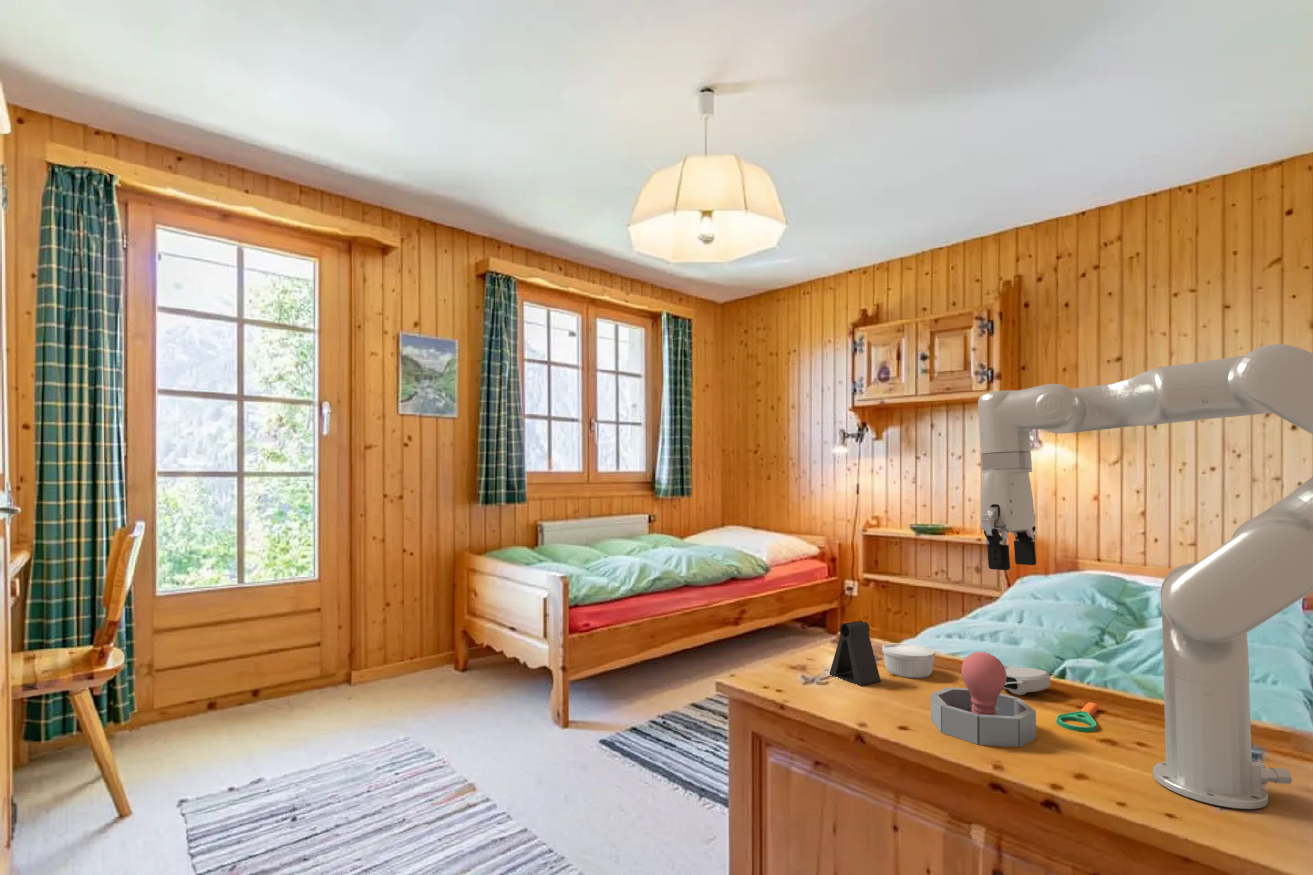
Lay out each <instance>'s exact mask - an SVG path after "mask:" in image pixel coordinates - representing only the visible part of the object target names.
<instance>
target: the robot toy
mask: <svg viewBox="0 0 1313 875" xmlns="http://www.w3.org/2000/svg"><path fill="white" fill-rule="evenodd" d="M1003 666H1004V668H1005V671H1006V683H1005V685H1004V687H1003V689H1005V690H1008V691H1009V692H1010V693H1011V694H1013V695H1015V696H1024V695H1026V694H1027V693H1037V692H1039V691H1045V690H1047V689H1048V688H1049V687H1050V686H1051V677H1050V676H1058V675H1059V673H1056V672H1054V673H1048V672H1047V671H1046V670H1042V669H1037V668H1031V667H1009V668H1008V666H1006V665H1005V664H1003Z"/></svg>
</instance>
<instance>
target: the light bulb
mask: <svg viewBox="0 0 1313 875" xmlns="http://www.w3.org/2000/svg"><path fill="white" fill-rule="evenodd" d="M1003 665H1004V664H1003V662H1001V660H1000V659H999V658H998V657H996V656H995V655H994V654H991V653H989V652H988V653H987V652H983V651H977V652H976V651H975V652H973V653H971V654H968V656H966V658H964V660H963V662H962V664H961V666H960V667H961V669H960V670H961V671H960V673H961V677H962V680H963V683H964V685H965V688H967V689H968V690H969V692H970V694H971V701H972V703H973V704H972V713H976V714H982V715H995V714H996V712H995V711H996V710H995V708H994V707H995V706H996V705H997V698H998V696H999V694H1000V693H1001V694H1002V691H1003V689H1004V688H1003V687H1004V685H1005V683H1006V671H1005V668H1004V666H1003Z"/></svg>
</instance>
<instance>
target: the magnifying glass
mask: <svg viewBox="0 0 1313 875" xmlns="http://www.w3.org/2000/svg"><path fill="white" fill-rule="evenodd" d="M1098 710H1099V705H1098V704H1097V703H1095V702H1092V701H1091V702H1090V701H1089V702H1087V703H1086V704H1085V705H1084V706H1083V707H1082V708H1081V709H1080V710H1077V711H1073V712H1066V713H1060V714H1058V715H1057V717H1056V721H1055V722H1056V724H1057V725H1058V726H1059V727H1061V728H1064V729H1065V730H1070V731H1075V732H1079V733H1080V732H1082V733H1091V732H1095V731H1097V722H1096V721H1095V719H1094V718H1093V716H1094V715H1095V714H1096V712H1097V711H1098ZM1064 721H1073V722H1079V723H1082V724H1086V725H1088V726H1077V725H1073V724H1070V723H1067V722H1064Z"/></svg>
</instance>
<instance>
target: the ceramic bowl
mask: <svg viewBox="0 0 1313 875" xmlns="http://www.w3.org/2000/svg"><path fill="white" fill-rule="evenodd" d="M972 704H973V703H972V701H971V694H970V692H969V690H968V689H967V687H952V686H951V687H950V686H949V687H945V688H943V689H942V688H941V689H940V690H937V691H935V692H932V693H931V692H930V721H931V722H932V723H933V725H934V726H935V727H936V728H937V729H938V731H939V732H940V733H942V734H944V735H948V736H951V737H953V738H956V739H960V740H963V741H965V742H969V743H972V744H975V745H979V746H988V747H989V746H993V747H1009V748H1010V747H1011V748H1021V747H1023V746H1025V745H1027V744H1029V743H1030V742H1032V741H1034V740H1036V739H1037V718H1036V717H1037V716H1036V715H1037V714H1036V713H1037V712H1036V709H1034V708H1033V707H1032V706H1030V705H1029V704H1028V703H1027V702H1025V701H1024V700H1023V699H1022V698H1019V697H1017V696H1012V695H1009V694H1004V693H1002V692H1001V693H1000V694H999V696H998V698H997V705H996V706H995V707H994V708H995V710H996V711H995V712H996V714H995V715H982V714H976V713H972Z"/></svg>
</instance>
